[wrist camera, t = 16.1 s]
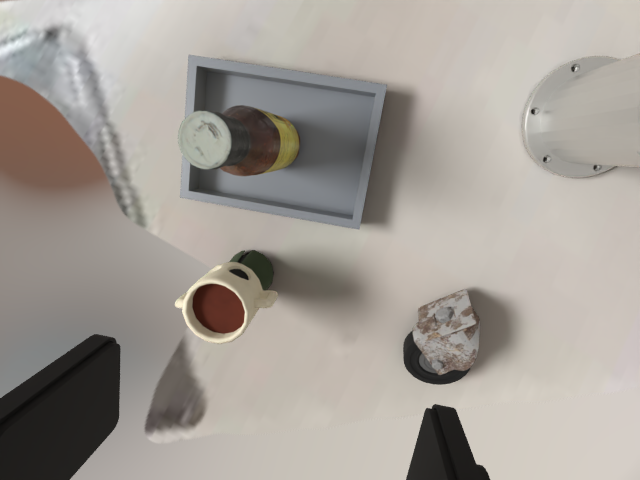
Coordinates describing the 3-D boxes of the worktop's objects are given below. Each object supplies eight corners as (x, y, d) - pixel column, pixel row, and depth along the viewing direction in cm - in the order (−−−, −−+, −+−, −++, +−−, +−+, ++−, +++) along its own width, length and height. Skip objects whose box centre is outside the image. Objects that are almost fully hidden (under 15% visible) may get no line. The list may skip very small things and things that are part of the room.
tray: (384, 90, 42) (386, 84, 38) (359, 223, 46) (359, 229, 42) (201, 62, 43) (188, 54, 40) (192, 194, 47) (179, 197, 44)
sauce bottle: (297, 112, 43) (247, 80, 24) (305, 165, 44) (265, 176, 25) (244, 121, 44) (154, 98, 24) (254, 173, 45) (176, 190, 26)
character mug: (289, 244, 47) (264, 278, 35) (293, 295, 49) (271, 344, 37) (210, 246, 49) (158, 279, 36) (216, 296, 50) (169, 344, 38)
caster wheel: (421, 365, 52) (385, 317, 50) (499, 340, 48) (464, 285, 45) (424, 405, 47) (383, 352, 44) (513, 380, 42) (473, 320, 39)
